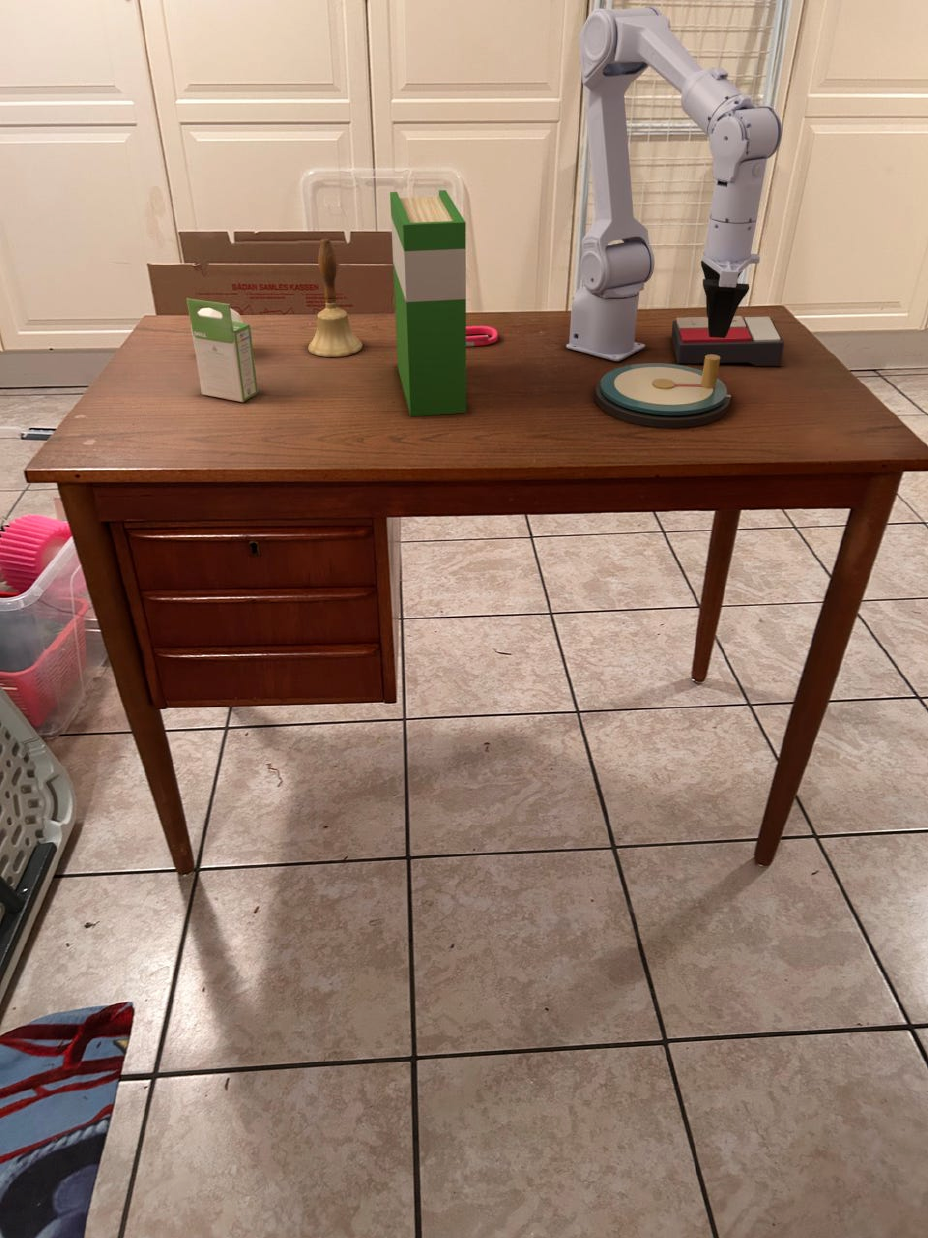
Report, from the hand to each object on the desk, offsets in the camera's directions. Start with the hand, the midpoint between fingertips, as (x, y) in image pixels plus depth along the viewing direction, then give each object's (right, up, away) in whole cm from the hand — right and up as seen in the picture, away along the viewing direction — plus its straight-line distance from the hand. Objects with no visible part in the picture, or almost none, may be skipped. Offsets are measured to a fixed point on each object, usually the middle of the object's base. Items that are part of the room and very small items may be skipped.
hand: (715, 326), depth 126 cm
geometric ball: (-70, +1, +18) cm, 72 cm away
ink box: (-65, -8, +6) cm, 66 cm away
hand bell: (-53, +3, +21) cm, 57 cm away
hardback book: (-38, -7, +8) cm, 39 cm away
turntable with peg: (-6, -8, +3) cm, 10 cm away
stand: (-6, -9, +4) cm, 12 cm away
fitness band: (-32, +5, +24) cm, 40 cm away
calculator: (+6, +2, +19) cm, 20 cm away
